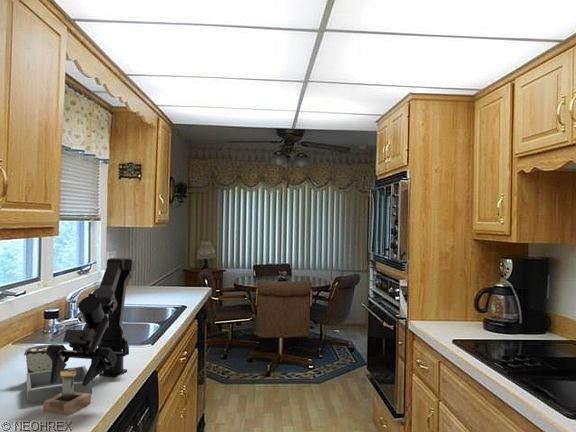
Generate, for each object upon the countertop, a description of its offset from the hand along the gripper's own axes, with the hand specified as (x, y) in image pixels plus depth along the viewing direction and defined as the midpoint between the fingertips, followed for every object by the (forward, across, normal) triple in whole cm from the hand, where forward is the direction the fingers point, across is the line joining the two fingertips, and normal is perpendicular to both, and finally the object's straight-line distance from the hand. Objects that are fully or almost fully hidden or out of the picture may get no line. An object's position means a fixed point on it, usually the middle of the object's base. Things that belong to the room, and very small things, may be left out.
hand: (67, 384), depth 124 cm
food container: (-11, -23, +22) cm, 34 cm away
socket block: (+5, 0, +6) cm, 8 cm away
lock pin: (+4, 0, +5) cm, 6 cm away
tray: (-3, -11, +13) cm, 17 cm away
